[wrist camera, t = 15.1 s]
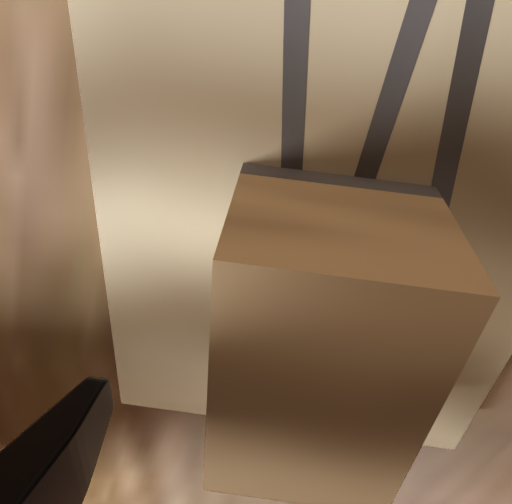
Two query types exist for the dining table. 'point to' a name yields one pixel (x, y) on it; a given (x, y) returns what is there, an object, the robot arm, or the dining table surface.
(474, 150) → the board
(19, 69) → the dining table surface
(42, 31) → the dining table surface
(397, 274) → the block
